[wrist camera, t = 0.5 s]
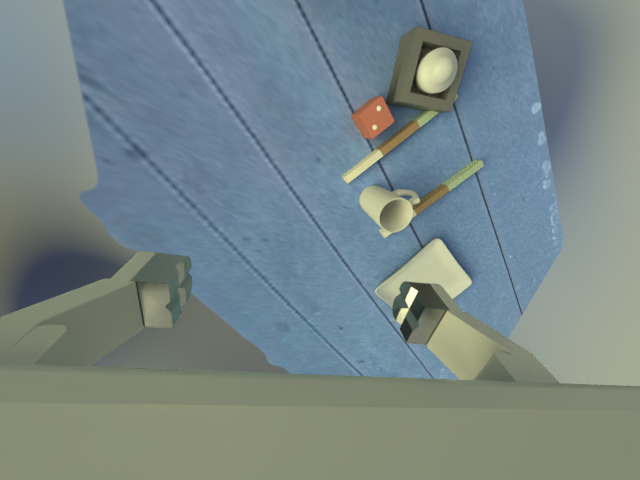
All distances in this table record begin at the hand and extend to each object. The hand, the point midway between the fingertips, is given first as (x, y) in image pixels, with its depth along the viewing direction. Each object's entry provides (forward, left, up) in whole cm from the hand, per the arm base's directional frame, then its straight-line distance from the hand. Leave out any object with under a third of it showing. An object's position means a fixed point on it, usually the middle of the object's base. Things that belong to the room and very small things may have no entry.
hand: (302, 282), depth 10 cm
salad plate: (+28, +42, -45) cm, 68 cm away
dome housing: (-18, +26, -44) cm, 54 cm away
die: (-9, +17, -44) cm, 48 cm away
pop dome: (-18, +26, -40) cm, 51 cm away
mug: (+6, +23, -45) cm, 51 cm away
